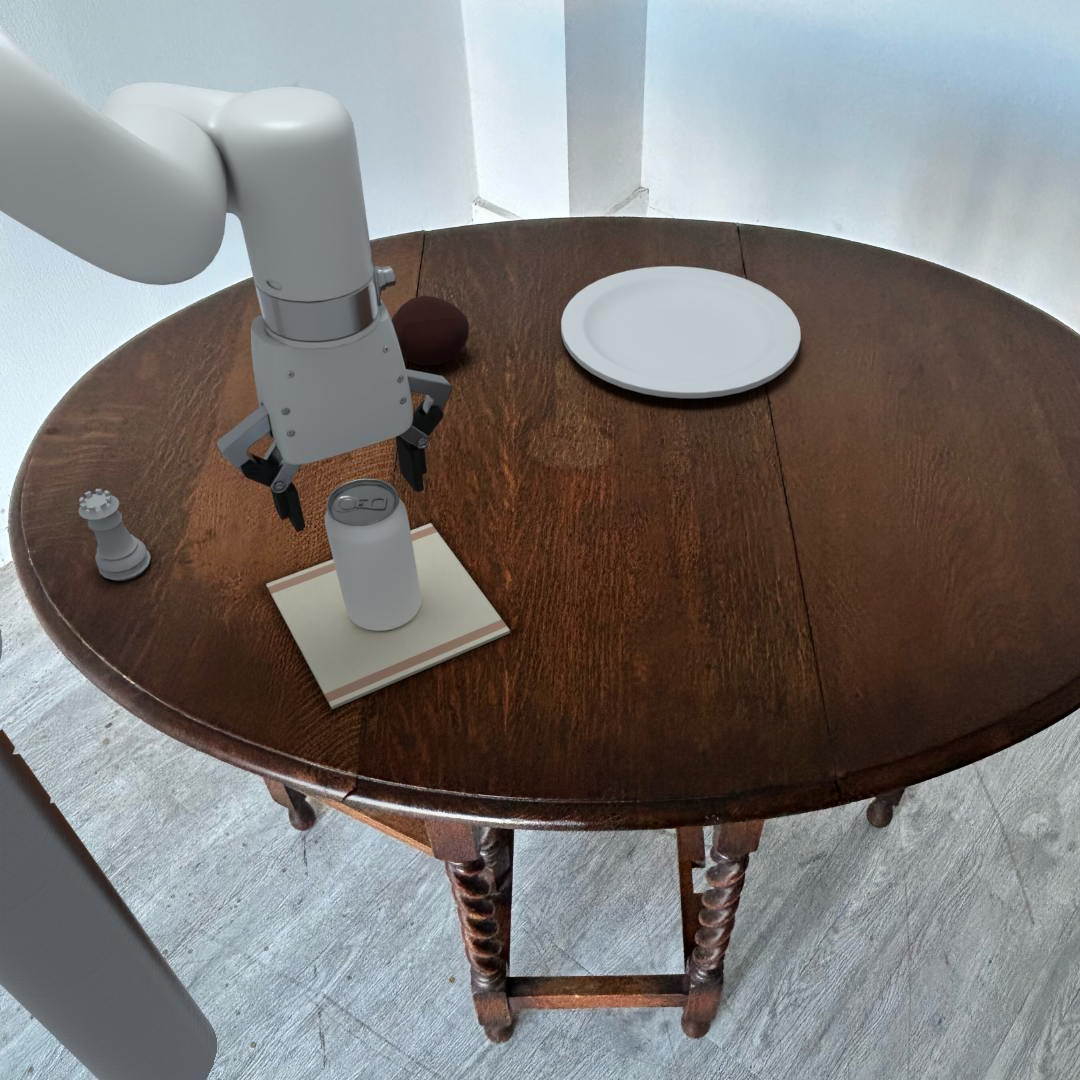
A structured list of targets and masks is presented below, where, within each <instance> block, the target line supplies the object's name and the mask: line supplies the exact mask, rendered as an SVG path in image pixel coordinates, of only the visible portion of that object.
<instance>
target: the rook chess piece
mask: <svg viewBox="0 0 1080 1080" xmlns="http://www.w3.org/2000/svg"><path fill="white" fill-rule="evenodd" d="M84 496H85V497H84ZM84 496H80V498H79V500H78V503H79V508H78V510H77V511H78V515H79V516H80V517H82V518H83V519H85V520H86V521H87V527H88V528H89V529H90V530H92V531H93V533H94V536H95V540H96V542H97V547H96V553H95V556H94V559H95V563H96V567H97V568H98V572H99V574H100V575H101V576H102V577H103V578H105V579H108V580H111V581H115V582H125V581H128V580H133V579H135V578H137V577H138V576H140V575H142V574H144V573H143V572H145V570H146V569H148V567H149V564H150V561H151V558H152V557H151V554H150V552H149V551H148V550H147V547H146V544H144V542H143V541H141V540H140V539H139V538H137V537H136V536H135V535H134V534H131V533H130V532H129V529H128V528H127V527H126V526H125V524H124V523H123V515H122V513H121V512H120V511H119V510H118V509H119V506H120V501H119V498H117V497H116V496H114V495H112V494H111V492H110V491H109V490H108V489H106V490H103V489H102V488H95V493H93V494H92V492H91V491H90V490H88V491H86V492H84Z"/></svg>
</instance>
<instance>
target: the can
mask: <svg viewBox="0 0 1080 1080" xmlns="http://www.w3.org/2000/svg"><path fill="white" fill-rule="evenodd" d="M325 503H326V504H325V507H326V508H325V509H326V511H325V517H324V527H325V531H326V535H327V540H328V544H329V548H330V551H331V555H332V559H333V560H334V564H335V568H336V572H337V576H338V580H339V584H340V588H341V592H342V596H343V599H344V603H345V607H346V611H347V614H348V616H349V618H350V619H351V620H352V621H353V622H354V623H355V624H356V625H358V626H360V627H362V628H365V629H367V630H371V631H389V630H393V629H396V628H399V627H401V626H403V625H405V624H406V623H408V622H409V621H410V620H411V619H412V618H413V617H414V616H415V615H416V614H417V612H418V610H419V608H420V605H421V593H420V587H419V580H418V574H417V568H416V562H415V556H414V550H413V544H412V538H411V532H410V531H411V527H410V522H409V516H408V512H407V508H406V505H405V503H404V502H403V500H402V499H401V498H400V495H399V493H398V490H397V489H396V487H394V485H392V484H390V483H389V482H387V481H384V480H381V479H377V478H358V479H353V480H350V481H347V482H345V483H342V484H341V485H339V486H337V487H336V488H335V489H334V490H332V491H331V492H330V494H329V495H328V497H327V499H326V502H325Z"/></svg>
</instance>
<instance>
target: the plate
mask: <svg viewBox="0 0 1080 1080" xmlns="http://www.w3.org/2000/svg"><path fill="white" fill-rule="evenodd" d="M785 302H786V301H785ZM785 302H784V300H783V299H781V298H780V297H779V296H778V295H776V294H775V293H773V291H770V290H769V289H767V288H765V287H763V286H762V285H760V284H758V283H755V282H753V281H751V280H749V279H747V278H744V277H740V276H737V275H734V274H731V273H727V272H723V271H718V270H714V269H709V268H703V267H695V266H694V267H692V266H680V265H677V266H676V265H675V266H674V265H671V266H670V265H668V266H667V265H666V266H663V265H662V266H650V267H641V268H636V269H635V268H634V269H629V270H625V271H621V272H617V273H614V274H611V275H608V276H605V277H603V278H600V279H598V280H596V281H594V282H592V283H590V284H588V285H587V286H585V287H584V288H583V289H581V290H580V291H578V292H577V293H576V294H575V295H574V296H573V297H572V298H571V299H570V300H569V301H568V303H567V304H566V307H565V308H564V309H563V313H562V316H561V319H560V329H561V330H560V332H561V338H562V341H563V345H564V347H565V349H566V350H567V352H568V354H569V355H570V356H571V357H572V358H573V359H574V360H575V361H576V363H577V364H579V365H580V366H581V367H582V368H583V369H585V370H586V371H587V372H589V373H590V374H592V375H594V376H595V377H598V378H599V379H601V380H603V381H605V382H607V383H609V384H612V385H614V386H617V387H619V388H622V389H625V390H629V391H632V392H636V393H640V394H643V395H648V396H649V395H650V396H655V397H661V398H671V399H672V398H674V399H707V398H717V397H725V396H730V395H734V394H740V393H743V392H747V391H749V390H753V389H755V388H758V387H759V386H762V385H765V384H767V383H769V382H770V381H772V380H773V379H775V378H777V377H778V376H779V375H781V374H782V373H784V372H785V371H786V370H787V369H788V368H789V367H790V366H791V365H792V363H794V360H795V358H796V357H797V355H798V353H799V349H800V345H801V340H802V336H801V335H802V334H801V327H800V323H799V321H798V318H797V316H796V315H795V313H794V311H793V310H792V309H791V307H790V306H789V305H787V303H785Z"/></svg>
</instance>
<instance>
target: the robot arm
mask: <svg viewBox="0 0 1080 1080" xmlns="http://www.w3.org/2000/svg"><path fill="white" fill-rule="evenodd" d="M4 28H5V27H3V26H2V25H1V24H0V212H2V213H3V214H5V215H6V216H7V217H10V218H11V219H13V220H14V221H16V222H18V223H19V224H21V225H23V226H24V227H26V228H27V229H29V230H31V231H32V232H35V233H36V234H38V235H40V237H43V238H44V239H46V240H48V241H50V242H51V243H53V244H55V245H56V246H58V247H60V248H62V249H64V250H65V251H66V252H68V253H70V254H72V255H74V256H75V257H77V258H79V259H80V260H82V261H85V262H87V263H88V264H91V265H92V266H94V267H96V268H99V269H100V270H102V271H104V272H107V273H109V274H111V275H115V276H117V277H119V278H123V279H125V280H128V281H132V282H135V283H140V284H145V285H155V286H168V285H176V284H180V283H183V282H185V281H189V280H192V279H193V278H195V277H197V276H199V275H200V274H202V272H204V271H205V270H206V269H207V268H208V267H209V266H210V265H211V264H212V263H213V262H214V260H215V258H216V256H217V255H218V253H219V252H220V249H221V246H222V244H223V240H224V235H225V230H226V222H227V221H226V220H227V214H232V215H233V216H236V217H237V219H238V220H239V222H240V226H241V230H242V235H243V239H244V243H245V248H246V252H247V256H248V261H249V265H250V270H251V274H252V278H253V283H254V287H255V291H256V292H255V293H256V296H257V300H258V301H257V302H258V305H259V309H260V313H261V314H260V315H257V316H256V317H254V318H253V319H252V321H251V324H250V326H251V327H250V349H251V362H252V371H253V378H254V379H253V380H254V385H255V391H256V396H257V397H256V398H257V404H258V407H257V409H255V410H254V411H253V412H252V413H251V414H249V415H247V416H246V417H245V418H244V419H243V420H241V421H240V422H239V423H237V424H236V425H235V426H234V427H232V429H230V430H229V431H228V432H227V433H225V434H224V435H223V436H221V437H220V438H219V439H217V442H216V446H217V448H218V451H219V452H220V454H221V455H222V457H223V458H224V459H225V460H226V461H227V462H229V464H231V465H232V466H233V467H234V468H235V469H236V470H239V472H241V473H242V475H243V476H244V477H245V478H247V479H249V480H251V481H254V482H256V483H257V484H258V483H259V484H261V485H263V486H266V487H268V488H270V491H271V496H272V500H273V504H274V508H275V511H276V513H277V515H278V516H279V518H280V520H281V521H283V520H286V519H288V520H289V521H290V523H291V525H292V527H293V528H294V530H295V532H296V533H299V532H302V531H304V530H305V528H306V526H307V525H306V521H305V517H304V513H303V509H302V505H301V500H300V496H299V492H298V489H297V488H296V486H295V484H294V483H293V480H294V478H295V476H296V475H297V473H298V472H299V470H300V468H301V467H302V465H308V464H312V463H315V462H319V461H322V460H325V459H329V458H333V457H336V456H339V455H343V454H347V453H349V452H352V451H356V450H359V449H362V448H365V447H369V446H372V445H375V444H379V443H381V442H385V441H387V440H391V439H394V438H395V443H396V450H397V459H398V465H399V471H400V474H401V476H402V477H403V478H404V479H405V481H406V482H407V483H408V485H409V486H410V488H411V489H412V490H413V492H417V493H420V492H423V491H425V485H424V484H425V483H424V477H423V475H425V474H427V472H428V468H427V467H428V466H427V458H426V451H425V450H426V449H425V448H427V447H428V446H429V445H430V442H431V439H430V435H432V433H433V431H434V430H435V429H436V427H437V426H438V425H439V423H440V422H441V421H442V420H443V418H444V412H443V411H444V409H445V408H446V406H447V404H448V401H449V398H450V396H451V393H452V391H453V386H452V384H451V383H450V382H449V381H448V380H447V379H446V378H445V376H443V375H439V374H434V373H429V372H424V371H418V370H414V369H408V368H406V365H405V360H404V358H403V357H402V353H401V349H400V346H399V342H398V339H397V335H396V332H395V329H394V326H393V323H392V317H391V315H390V312H389V310H388V307H387V306H386V305H385V304H384V301H383V300H382V299H381V296H382V291H386V289H387V288H389V287H394V286H396V284H397V279H396V275H395V272H394V269H393V268H392V266H391V265H385V266H379V265H374V262H373V255H372V248H371V247H372V246H371V241H370V240H371V239H370V233H369V226H368V221H367V220H368V219H367V218H368V217H367V210H366V204H365V196H364V188H363V181H362V174H361V165H360V157H359V149H358V142H357V136H356V135H357V134H356V130H355V125H354V122H353V118H352V116H351V114H350V113H349V110H348V109H347V107H346V106H345V105H344V104H343V103H342V102H341V101H340V100H339V99H338V98H336V97H334V96H333V95H331V94H329V93H328V92H325V91H322V90H319V89H314V88H313V89H312V88H308V87H302V86H274V87H266V88H262V89H261V88H260V89H257V90H252V91H249V92H242V91H241V92H240V91H229V90H221V89H213V88H206V87H199V86H191V85H185V84H179V83H178V84H177V83H171V82H161V81H143V82H136V83H135V82H134V83H130V84H127V85H124V86H121V87H119V88H117V89H116V90H114V91H113V92H111V93H110V94H109V95H107V96H106V97H105V99H104V100H103V101H102V102H101V103H100V105H99V107H98V108H96V107H94V106H93V105H92V104H90V103H88V102H87V101H86V100H85V99H83V98H82V97H81V96H79V95H78V94H76V93H75V92H74V91H72V90H71V89H70V88H68V87H67V86H66V85H65V84H64V83H62V82H61V81H60V80H58V79H57V77H55V76H54V75H53V74H51V73H50V72H49V71H47V69H45V68H44V67H43V66H42V65H41V64H40V63H38V62H37V60H35V59H34V58H33V57H32V56H31V55H30V54H29V53H28V52H27V51H25V50H24V48H23V47H22V46H21V45H20V44H19V43H18V42H17V41H16V40H15V39H14V38H13V37H12V36H11V35H10V34H9V32H7V31H6V29H4ZM412 393H413V394H414V393H415V394H420V395H425V396H424V399H423V400H422V401H421V402H420V404H419V405H418V407H417V408H416V409H415V410H414V408H413V407H414V406H413V400H412ZM265 436H267V437H268V439H269V440H272V439H273V441H272V443H271V445H270V446H269V448H268V449H267V451H266V453H265V454H264V456H263V457H261V456H259V455H256V454H253V453H251V452H250V451H249V450H250V448H251V447H253V446H254V445H255V444H256V443H257V442H259V441H260V440H262V439H263V438H264V437H265Z"/></svg>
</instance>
